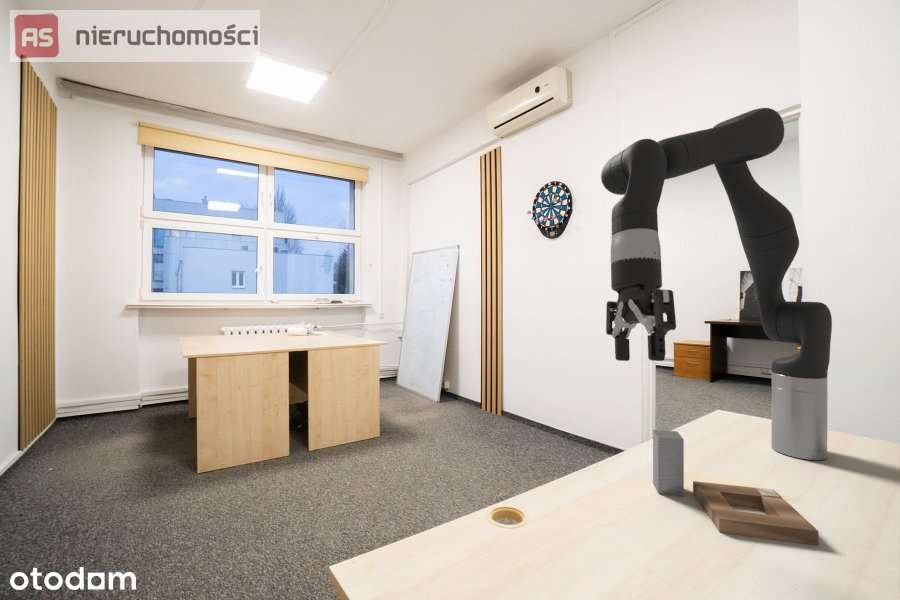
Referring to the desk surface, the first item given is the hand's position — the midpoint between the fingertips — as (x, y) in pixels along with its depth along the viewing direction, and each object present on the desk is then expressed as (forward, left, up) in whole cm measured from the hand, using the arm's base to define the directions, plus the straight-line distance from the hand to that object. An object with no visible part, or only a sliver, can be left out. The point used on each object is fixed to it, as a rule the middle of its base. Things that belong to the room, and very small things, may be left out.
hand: (638, 360), depth 63 cm
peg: (-10, +7, -25) cm, 27 cm away
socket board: (-4, +17, -25) cm, 30 cm away
